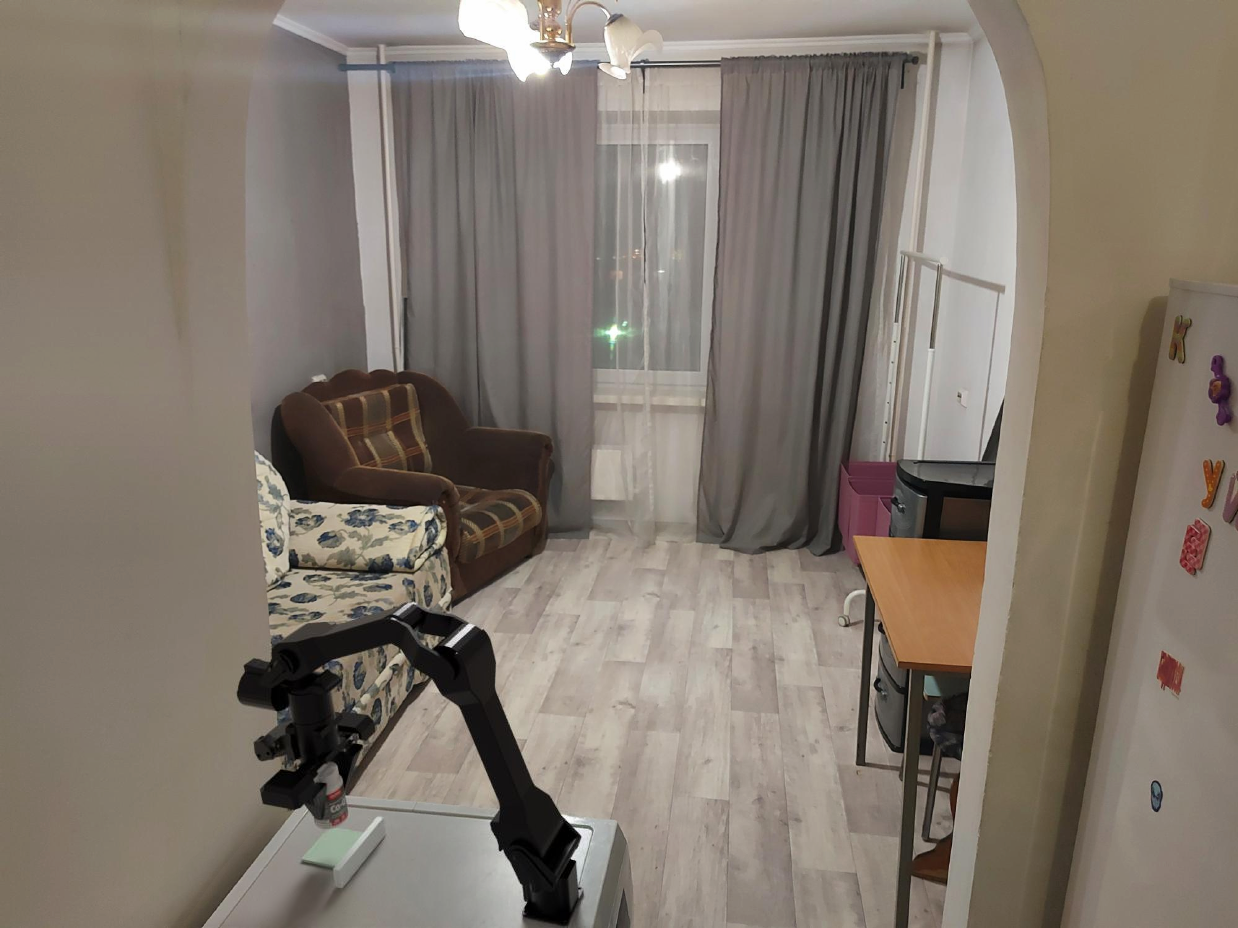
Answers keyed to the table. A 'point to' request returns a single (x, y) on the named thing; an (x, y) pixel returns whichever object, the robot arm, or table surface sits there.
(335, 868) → the acrylic wall
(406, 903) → the table surface
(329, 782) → the pill bottle
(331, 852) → the coaster
